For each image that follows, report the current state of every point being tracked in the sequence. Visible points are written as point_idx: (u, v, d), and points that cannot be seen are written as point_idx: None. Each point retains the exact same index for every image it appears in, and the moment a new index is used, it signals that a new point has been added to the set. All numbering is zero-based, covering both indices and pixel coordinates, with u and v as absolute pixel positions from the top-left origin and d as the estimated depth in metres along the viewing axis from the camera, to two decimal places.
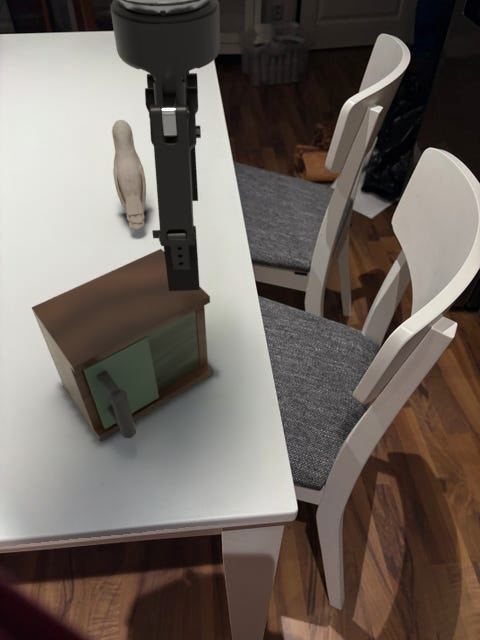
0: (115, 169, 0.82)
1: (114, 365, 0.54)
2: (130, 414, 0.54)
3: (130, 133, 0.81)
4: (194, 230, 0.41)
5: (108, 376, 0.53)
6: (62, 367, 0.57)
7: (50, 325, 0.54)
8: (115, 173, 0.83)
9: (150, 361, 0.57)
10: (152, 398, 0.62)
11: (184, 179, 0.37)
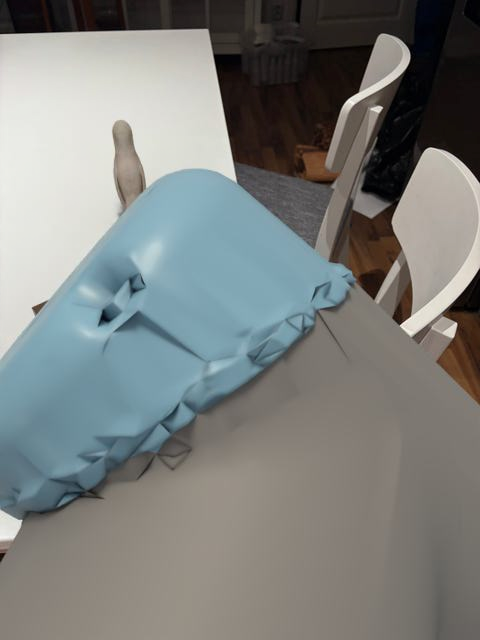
0: (115, 169, 0.82)
1: None
2: None
3: (130, 133, 0.81)
4: None
5: None
6: None
7: None
8: (115, 173, 0.83)
9: None
10: None
11: None
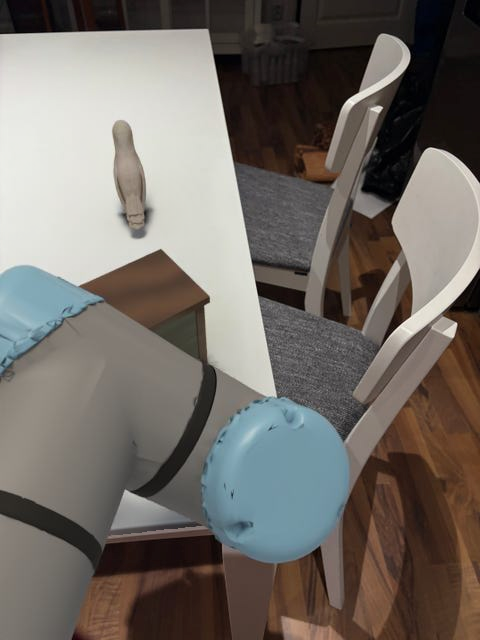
0: (115, 169, 0.82)
1: None
2: None
3: (130, 133, 0.81)
4: None
5: None
6: None
7: None
8: (115, 173, 0.83)
9: None
10: None
11: None
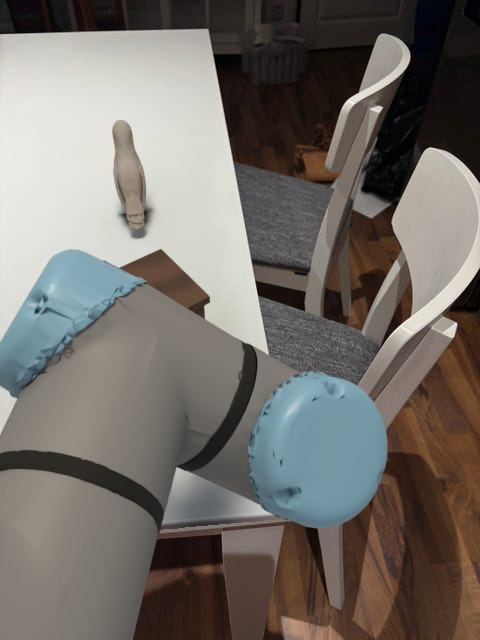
0: (115, 169, 0.82)
1: None
2: None
3: (130, 133, 0.81)
4: None
5: None
6: None
7: None
8: (115, 173, 0.83)
9: None
10: None
11: None
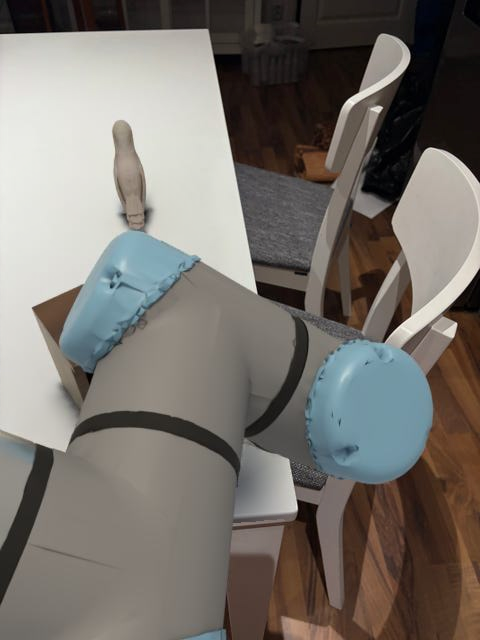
0: (115, 169, 0.82)
1: None
2: None
3: (130, 133, 0.81)
4: None
5: None
6: (62, 367, 0.57)
7: (50, 325, 0.54)
8: (115, 173, 0.83)
9: None
10: None
11: None
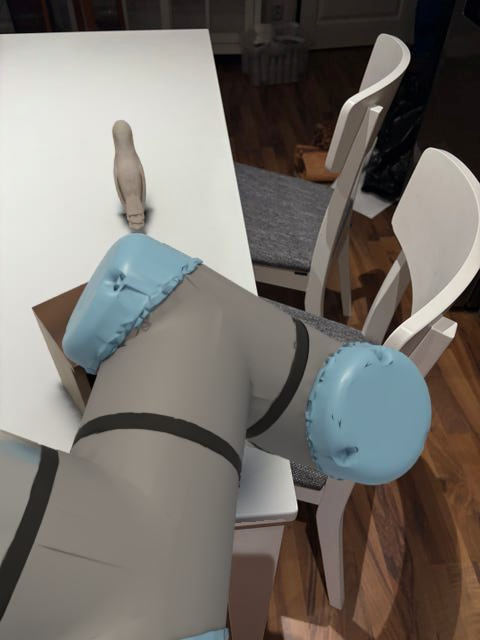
0: (115, 169, 0.82)
1: None
2: None
3: (130, 133, 0.81)
4: None
5: None
6: (62, 367, 0.57)
7: (50, 325, 0.54)
8: (115, 173, 0.83)
9: None
10: None
11: None
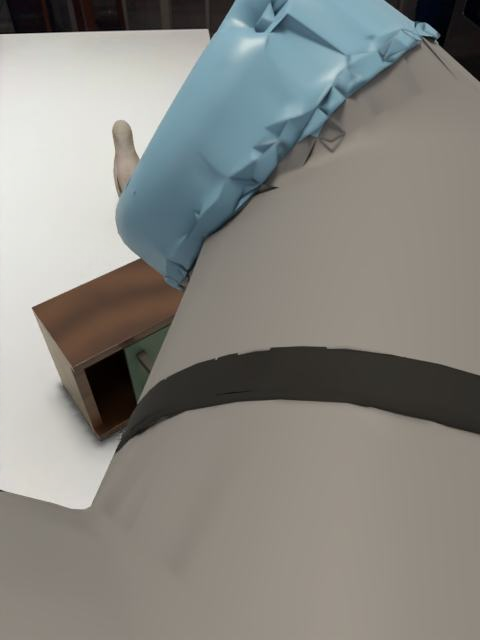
0: (115, 169, 0.82)
1: (152, 345, 0.56)
2: None
3: (130, 133, 0.81)
4: None
5: (147, 355, 0.55)
6: (62, 367, 0.57)
7: (50, 325, 0.54)
8: (115, 173, 0.83)
9: None
10: None
11: None
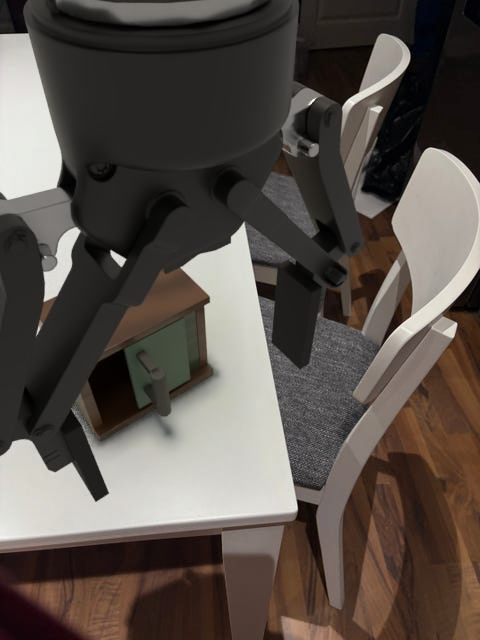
0: None
1: (152, 345, 0.56)
2: (167, 392, 0.56)
3: None
4: (40, 434, 0.20)
5: (147, 355, 0.55)
6: None
7: None
8: None
9: (184, 342, 0.59)
10: (184, 379, 0.64)
11: None
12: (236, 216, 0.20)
